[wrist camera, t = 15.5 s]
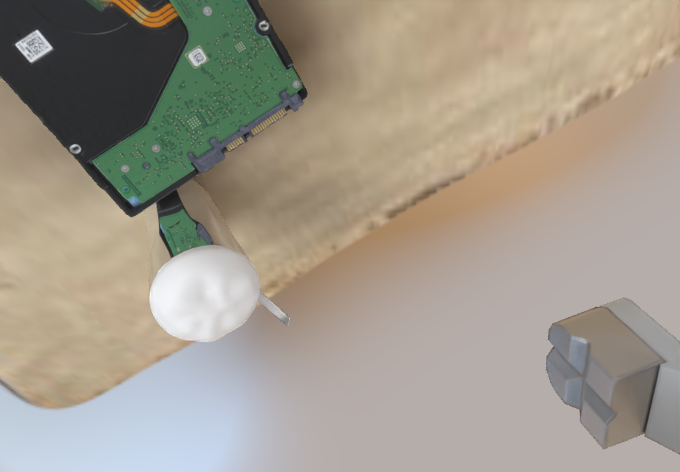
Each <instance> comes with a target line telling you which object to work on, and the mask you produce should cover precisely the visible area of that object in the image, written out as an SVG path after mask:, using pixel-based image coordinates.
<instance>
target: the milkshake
mask: <svg viewBox="0 0 680 472" xmlns="http://www.w3.org/2000/svg"><path fill="white" fill-rule="evenodd" d="M145 220H146V232H147V244H148V262H149V300H150V307H151V311H152V313H153V315H154V317H155V319H156V321H157V322H158V323H159V325H160V326H161V327H162V328H163V329H164V330H165V331H166V332H167V333H169V334H170V335H172V336H174V337H177V338H180V339H184V340H192V341H202V342H211V341H214V340H217V339H219V338H221V337H223V336H224V335H226V334H227V333H229V332H231V331H233V330H235V329H237V328H238V327H240V326H241V325H242V324H244V323H245V322H246V320H247V319H248V318H249V317H250V315H251V314H252V312H253V310H254V308H255V306H256V304H257V301H259V302H260V303H261V304H262V305H263V306H265V307H266V308H267V309H268V310H269V311H270V312H272V314H274V315H275V316H276V317H277V318H278V319H279V320H280V321H282V322H283V323H284V324H285V325H286V326H289V324H290V320H291V318H290V317H289V316H288V315H287V314H286V313H284V312H283V311H282V310H281V309H280V308H279V307H278V306H276V305H275V304H274V303H273V302H272V301H271V300H270V299H268V298H267V297H266V296H265V295H264V294H263V293H261V292H260V279H259V275H258V272H257V270H256V268H255V267H254V265H253V264H252V262H251V261H250V259H249V258H248V256H247V255H246V253H245V252H244V250H243V249H242V247H241V246H240V244H239V243H238V241H237V240H236V238H235V237H234V235H233V234H232V232H231V230H230V228H229V227H228V225H227V223H226V222H225V220H224V218H223V217H222V215H221V213H220V212H219V210H218V208H217V207H216V205H215V203H214V202H213V200H212V198H211V197H210V195H209V193H208V192H207V190H205V189H204V188H203V187H202V186H201V185H199V184H198V183H197V182H196V181H195V180H193V179H191V180H190V181H188V182H186V183H185V184H183V185H182V186H180V187H179V188H177V189H176V190H174V191H172V192H171V193H170V194H168V195H166V196H165V197H164V198H162V199H160V200H159V201H157V202H156V203H154V204H153V205H151V206H150V207H148V208H147V209H145Z"/></svg>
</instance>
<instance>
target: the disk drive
mask: <svg viewBox="0 0 680 472" xmlns="http://www.w3.org/2000/svg"><path fill="white" fill-rule="evenodd" d="M0 77H1V78H2V79H3V80H4V81H6V83H7V84H8V85H9V86H10V87H11V88H12V89H13V90H14V92H15V93H16V94H17V95H18V96H19V97H20V99H21V100H22V101H23V102H24V103H25V104H27V105H28V107H29V108H30V109H31V110H32V112H33V113H34V114H35V115H37V116H38V117H39V119H40V120H41V121H42V122H43V124H44V125H45V126H46V127H47V128H48V129H49V130H50V131H51V132H52V133H53V134H54V135H55V136H56V138H57V139H58V140H59V141H60V143H61V144H62V145H63V146H64V147H66V149H67V150H68V151H69V152H70V153H71V154H72V155H73V156H74V157H75V159H77V160H78V162H79V163H80V164H81V165H82V167H83V168H84V169H85V171H86V172H87V173H88V174H89V175H90V176H91V177H92V179H93V180H94V181H95V182H96V183H97V185H98V186H99V187H100V188H102V189H104V190H105V191H106V192H107V193H108V194H109V196H110V197H111V198H112V199H113V200H114V201H115V202H116V204H117V205H118V206H119V207H120V208H121V209H123V211H124V212H125V213H126V214H127V215H129V216H130V217H134V216H136V215H137V214H139V213H141V212H142V211H143V210H145V209H147V208H148V207H150V206H151V205H153V204H154V203H156V202H157V201H159V200H160V199H162V198H164V197H165V196H166V195H168V194H170V193H171V192H172V191H174V190H176V189H177V188H179V187H180V186H182V185H183V184H185V183H186V182H188V181H190V180H191V179H192V178H194V177H196V176H197V175H198V172H200V173H203V172H205V171H207V170H208V169H210V168H211V167H213V166H214V165H215V164H217V163H219V162H220V161H222V160H223V159H224V158H225V155H224V152H226V151H227V150H228V151H232V150H234V149H235V148H237V147H238V146H240V145H241V144H243V143H244V142H247V137H249V136H251V137H252V138H253V137H254V136H255V135H256V134H258V133H259V132H261V131H262V130H264V129H265V128H267V127H268V126H270V125H271V124H273V123H274V122H276V121H277V120H279V119H281V118H282V117H284V116H285V115H287V111H288V110H289V109H293V111H295V112H296V111H297V110H298V108H299V107H300V106H301V105H303V101H302V100H304V99H305V98H306V97H307V95H308V92H307V90H306V88H305V87H304V85H303V83H302V82H301V79H300V77H299V75H298V73H297V72H296V70H295V69H294V67H293V61H292V59H291V57H290V56H289V53H288V51H287V50H286V48H285V47H284V45H283V43H282V42H281V41H280V39H279V38H278V36H277V34H276V33H275V31H274V30H273V28H272V26H271V24H270V22H269V20H268V19H267V17H266V15H265V13H264V12H263V10H262V8H261V7H260V5H259V3H258V1H257V0H0Z"/></svg>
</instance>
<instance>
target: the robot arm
mask: <svg viewBox="0 0 680 472" xmlns="http://www.w3.org/2000/svg"><path fill="white" fill-rule="evenodd" d="M548 340H549V341H550V342H551V343H552V344H553V345H554V347H553V348H552V349H551V351H550V352H549V354H548V355H547V362H546V370H547V373H548V376H549V380H550V383H551V384H552V386H553V388H554V390H555V391H556V393H557V394H558V396H559V397H560V398H561V399H562V400H563V402H564V403H565V404H567V405H569V406H572V407H574V408H577V409H579V410H580V422H581V423H582V425H583V426H584V427H585V428H586V429H587V431H588V432H589V433H590V434H591V435H592V436H593V438H594V439H596V441H597V442H598V443H599V445H600V446H601V447H602V448H603V449H606V448H608V447H611V446H613V445H616V444H619V443H621V442H624V441H627V440H629V439H632V438H634V437H637V436H640V435H642V434H645V437H647V438H649V439H651V440H653V441H655V442H657V443H659V444H661V445H663V446H664V447H666V448H668V449H670V450H672V451H674V452H676V453H678V454H680V342H679V341H678V340H677V339H676V338H675V337H674V336H673V335H671V334H670V333H669V332H668V331H667V330H666V329H664V328H663V327H662V326H661V325H660V324H659V323H657V322H656V321H655V320H654V319H653V318H652V317H650V316H649V315H648V314H647V313H645V312H644V311H643V310H642V309H641V308H640V307H639V306H637V305H636V304H635V303H634V302H633V301H631V300H629V299H627V298H621V299H618V300H616V301H613V302H610V303H607V304H605V305H602V306H600V307H595V308H593V309H590V310H587V311H584V312H582V313H579V314H577V315H574V316H572V317H569V318H566V319H563V320H561V321H558V322H556V323H553V324H552V326H551V327H550V329H549V335H548Z"/></svg>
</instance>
